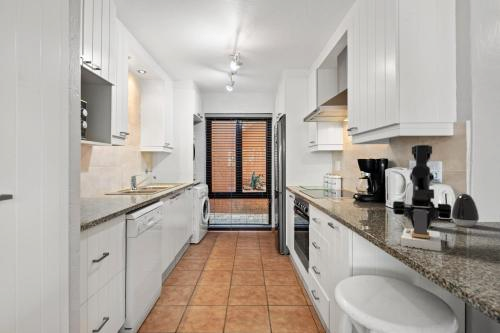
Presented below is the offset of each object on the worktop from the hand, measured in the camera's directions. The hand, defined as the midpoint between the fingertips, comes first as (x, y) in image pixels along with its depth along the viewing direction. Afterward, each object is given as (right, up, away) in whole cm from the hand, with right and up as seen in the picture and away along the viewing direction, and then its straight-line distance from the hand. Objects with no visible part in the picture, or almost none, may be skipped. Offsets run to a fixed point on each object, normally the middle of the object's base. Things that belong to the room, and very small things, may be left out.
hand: (420, 228), depth 99 cm
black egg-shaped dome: (+40, -6, +29) cm, 50 cm away
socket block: (+3, -6, +5) cm, 9 cm away
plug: (+1, -7, +1) cm, 7 cm away
